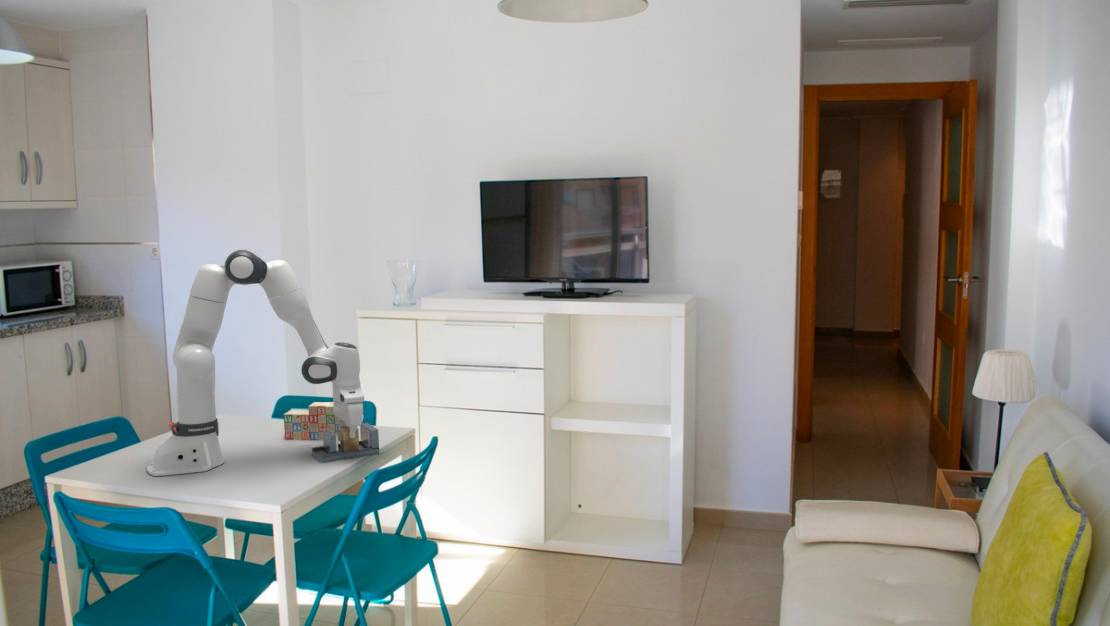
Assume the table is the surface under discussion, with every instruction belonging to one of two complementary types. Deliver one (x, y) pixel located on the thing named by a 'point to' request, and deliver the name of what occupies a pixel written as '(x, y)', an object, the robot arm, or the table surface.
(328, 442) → the sliding jaw
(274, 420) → the table surface
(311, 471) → the table surface
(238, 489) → the table surface
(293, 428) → the stack of blocks
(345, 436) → the oak block
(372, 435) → the vise base
